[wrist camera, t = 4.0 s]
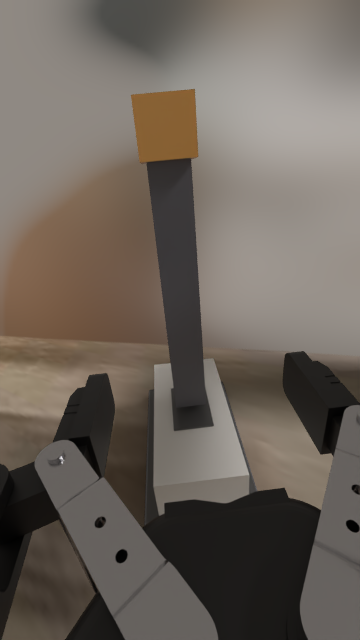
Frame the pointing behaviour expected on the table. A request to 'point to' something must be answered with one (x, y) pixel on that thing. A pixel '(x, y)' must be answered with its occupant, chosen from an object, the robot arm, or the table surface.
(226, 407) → the breaker base
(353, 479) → the robot arm
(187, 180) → the lever
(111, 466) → the table surface
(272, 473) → the table surface
